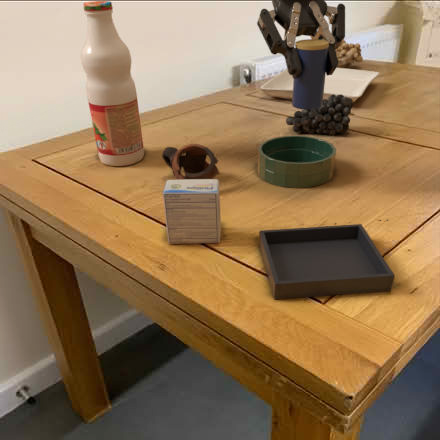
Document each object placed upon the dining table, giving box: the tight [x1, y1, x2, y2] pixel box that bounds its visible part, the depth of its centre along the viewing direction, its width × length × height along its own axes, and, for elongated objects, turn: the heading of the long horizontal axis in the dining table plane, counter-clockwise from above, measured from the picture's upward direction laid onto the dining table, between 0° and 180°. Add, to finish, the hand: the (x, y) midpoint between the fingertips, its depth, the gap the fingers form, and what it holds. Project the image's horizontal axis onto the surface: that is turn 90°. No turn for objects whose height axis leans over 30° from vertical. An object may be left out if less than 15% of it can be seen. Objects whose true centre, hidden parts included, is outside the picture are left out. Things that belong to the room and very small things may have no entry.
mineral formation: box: [335, 38, 364, 68], centre depth 154 cm, size 8×13×15 cm
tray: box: [258, 223, 395, 300], centre depth 64 cm, size 15×13×2 cm
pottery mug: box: [161, 143, 221, 180], centre depth 86 cm, size 12×10×8 cm
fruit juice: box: [80, 0, 145, 167], centre depth 89 cm, size 9×9×28 cm
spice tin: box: [291, 38, 329, 110], centre depth 72 cm, size 5×5×9 cm
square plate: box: [259, 67, 380, 103], centre depth 132 cm, size 27×27×4 cm
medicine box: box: [162, 178, 222, 245], centre depth 69 cm, size 8×4×9 cm, turn 88°
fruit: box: [285, 94, 356, 136], centre depth 105 cm, size 9×8×15 cm
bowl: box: [257, 135, 337, 189], centre depth 88 cm, size 14×14×5 cm
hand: (314, 73), depth 70 cm, fingers closed on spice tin, 5 cm apart
